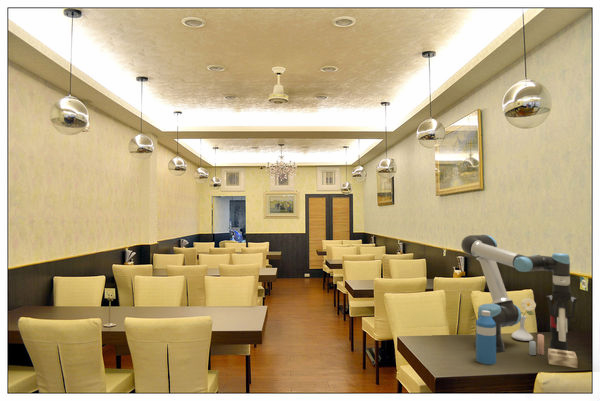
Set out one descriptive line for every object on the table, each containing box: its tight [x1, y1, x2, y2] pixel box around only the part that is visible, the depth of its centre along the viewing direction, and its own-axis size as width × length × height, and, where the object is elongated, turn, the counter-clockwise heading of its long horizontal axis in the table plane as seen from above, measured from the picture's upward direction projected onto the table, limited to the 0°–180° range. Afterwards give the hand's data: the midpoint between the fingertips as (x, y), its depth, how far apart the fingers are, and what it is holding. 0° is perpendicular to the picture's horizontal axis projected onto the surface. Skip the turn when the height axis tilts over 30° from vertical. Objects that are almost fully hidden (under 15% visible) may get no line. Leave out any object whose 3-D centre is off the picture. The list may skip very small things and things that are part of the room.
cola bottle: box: [549, 298, 569, 351], centre depth 238 cm, size 8×8×30 cm
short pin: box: [528, 340, 537, 356], centre depth 230 cm, size 3×3×7 cm
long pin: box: [558, 308, 567, 342], centre depth 219 cm, size 3×3×16 cm
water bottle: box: [475, 310, 497, 365], centre depth 219 cm, size 9×9×25 cm
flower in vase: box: [511, 297, 537, 342], centre depth 258 cm, size 13×11×25 cm
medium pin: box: [537, 333, 545, 356], centre depth 232 cm, size 3×3×10 cm
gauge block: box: [547, 347, 578, 369], centre depth 218 cm, size 12×12×4 cm
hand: (562, 330), depth 219 cm, fingers closed on long pin, 3 cm apart
